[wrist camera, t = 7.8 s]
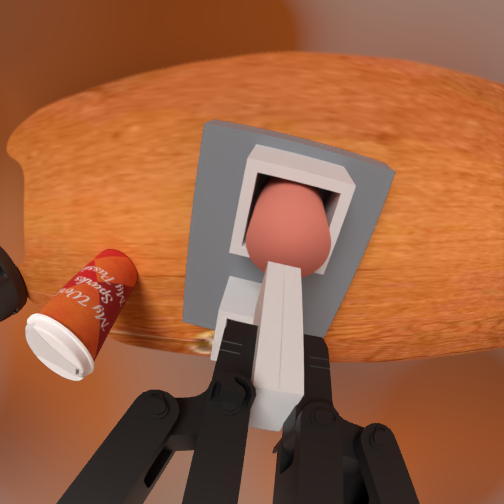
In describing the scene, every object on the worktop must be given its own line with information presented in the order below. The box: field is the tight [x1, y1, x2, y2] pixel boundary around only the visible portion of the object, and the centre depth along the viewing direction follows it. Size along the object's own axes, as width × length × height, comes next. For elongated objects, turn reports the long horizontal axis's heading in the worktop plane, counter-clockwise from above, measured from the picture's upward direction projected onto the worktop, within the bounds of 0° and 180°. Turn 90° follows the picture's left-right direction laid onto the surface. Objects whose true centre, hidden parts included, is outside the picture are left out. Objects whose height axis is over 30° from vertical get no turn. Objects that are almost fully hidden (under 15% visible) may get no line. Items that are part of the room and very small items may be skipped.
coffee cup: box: [25, 249, 137, 381], centre depth 29 cm, size 8×8×15 cm
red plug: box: [246, 176, 331, 278], centre depth 21 cm, size 5×5×7 cm
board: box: [182, 120, 395, 361], centre depth 27 cm, size 16×22×8 cm
